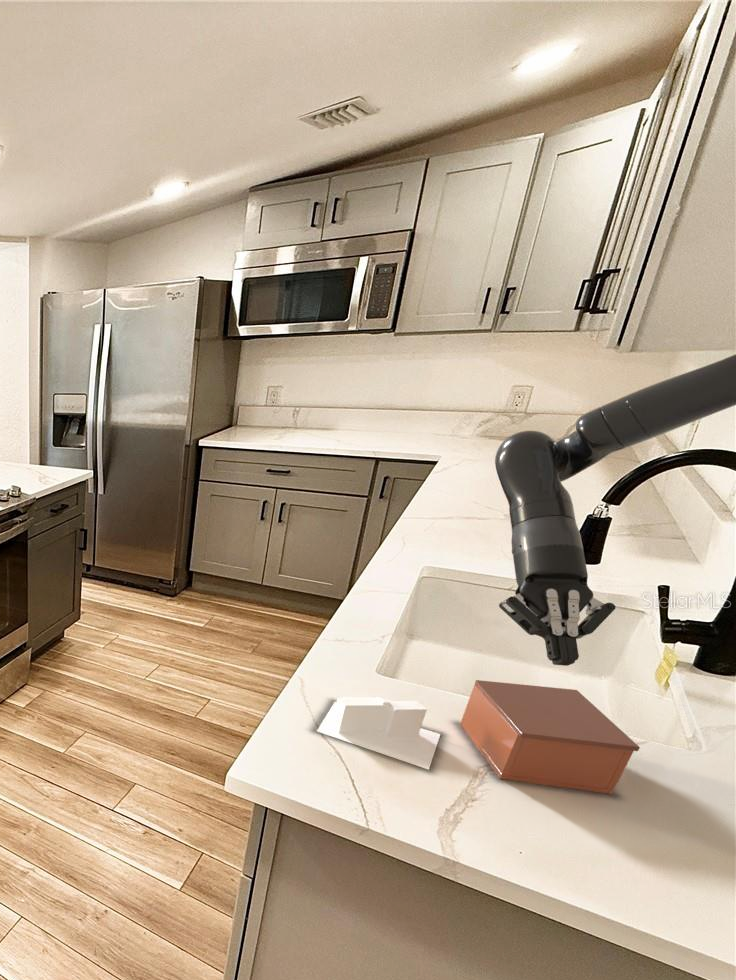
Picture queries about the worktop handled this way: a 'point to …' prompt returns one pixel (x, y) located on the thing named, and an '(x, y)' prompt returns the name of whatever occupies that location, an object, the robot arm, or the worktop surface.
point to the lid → (554, 715)
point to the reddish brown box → (539, 753)
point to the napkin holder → (383, 727)
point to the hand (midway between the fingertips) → (564, 663)
